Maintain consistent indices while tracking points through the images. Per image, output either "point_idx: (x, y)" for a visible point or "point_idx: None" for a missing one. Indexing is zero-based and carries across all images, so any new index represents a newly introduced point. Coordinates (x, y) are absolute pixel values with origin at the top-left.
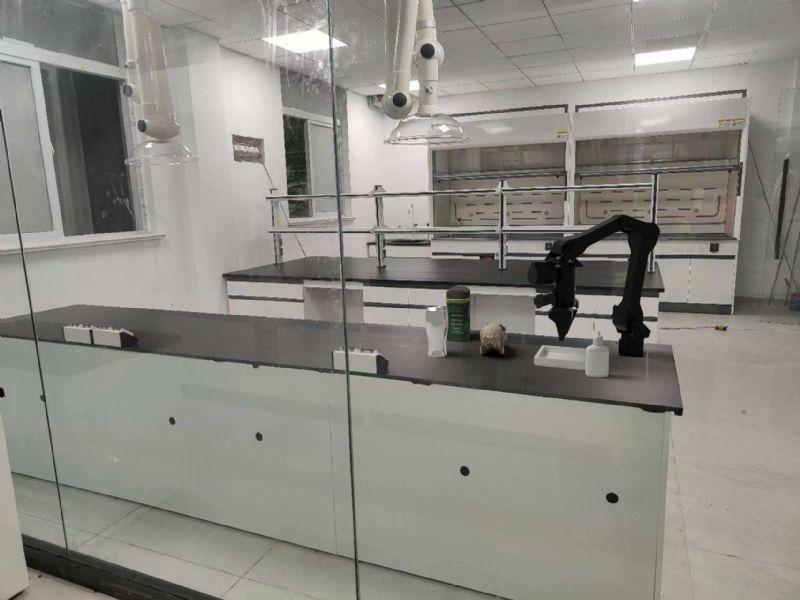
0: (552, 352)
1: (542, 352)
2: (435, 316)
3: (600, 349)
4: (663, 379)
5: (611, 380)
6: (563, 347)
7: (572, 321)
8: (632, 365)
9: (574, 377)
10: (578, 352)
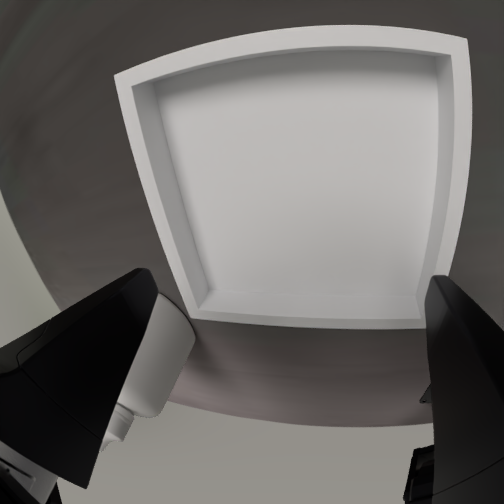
0: (438, 108)
1: (344, 48)
2: None
3: None
4: (236, 410)
5: None
6: (451, 194)
7: (436, 450)
8: (332, 390)
9: (113, 261)
10: (427, 265)
